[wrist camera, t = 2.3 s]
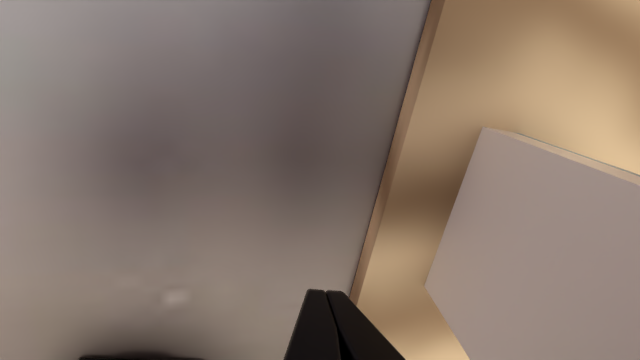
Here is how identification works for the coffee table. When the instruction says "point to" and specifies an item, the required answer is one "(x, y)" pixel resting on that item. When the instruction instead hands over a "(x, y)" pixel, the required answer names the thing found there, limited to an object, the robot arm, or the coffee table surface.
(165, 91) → the coffee table surface
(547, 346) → the tile
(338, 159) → the coffee table surface
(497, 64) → the board
